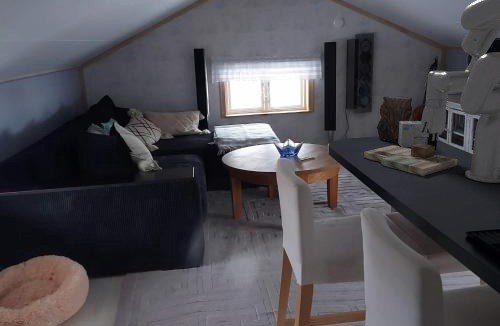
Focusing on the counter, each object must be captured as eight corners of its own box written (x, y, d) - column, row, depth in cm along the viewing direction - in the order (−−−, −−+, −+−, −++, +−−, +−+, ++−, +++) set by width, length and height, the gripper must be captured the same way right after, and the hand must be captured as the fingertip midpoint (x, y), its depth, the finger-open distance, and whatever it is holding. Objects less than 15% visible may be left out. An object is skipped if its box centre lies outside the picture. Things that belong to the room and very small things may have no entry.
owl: (374, 138, 212) (377, 96, 207) (393, 135, 218) (396, 94, 213) (395, 143, 202) (398, 99, 196) (414, 139, 207) (417, 97, 202)
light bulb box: (421, 144, 198) (423, 120, 196) (425, 147, 192) (427, 123, 189) (397, 144, 200) (398, 120, 197) (400, 147, 193) (402, 123, 190)
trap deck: (456, 165, 164) (457, 159, 164) (422, 175, 153) (423, 169, 152) (392, 150, 187) (393, 145, 187) (358, 158, 176) (359, 152, 175)
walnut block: (433, 156, 168) (434, 146, 167) (424, 158, 165) (425, 148, 164) (420, 153, 173) (421, 143, 172) (410, 155, 170) (411, 145, 169)
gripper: (438, 100, 176) (434, 145, 181) (415, 104, 168) (411, 150, 173) (456, 102, 170) (451, 148, 175) (432, 106, 162) (428, 154, 167)
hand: (431, 149), depth 174 cm, fingers closed
